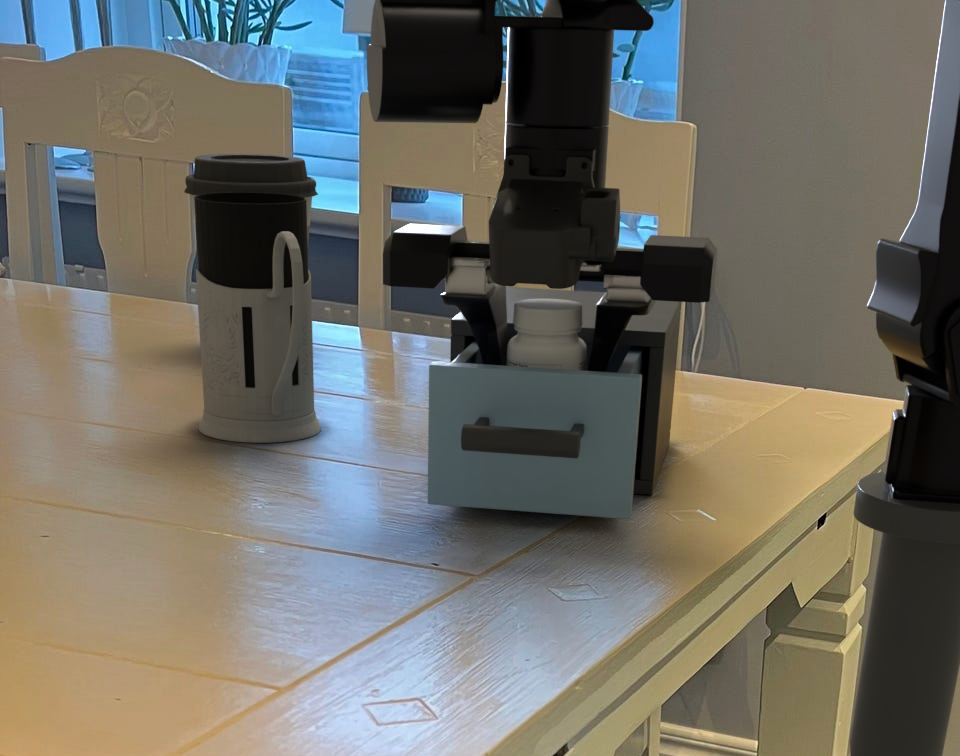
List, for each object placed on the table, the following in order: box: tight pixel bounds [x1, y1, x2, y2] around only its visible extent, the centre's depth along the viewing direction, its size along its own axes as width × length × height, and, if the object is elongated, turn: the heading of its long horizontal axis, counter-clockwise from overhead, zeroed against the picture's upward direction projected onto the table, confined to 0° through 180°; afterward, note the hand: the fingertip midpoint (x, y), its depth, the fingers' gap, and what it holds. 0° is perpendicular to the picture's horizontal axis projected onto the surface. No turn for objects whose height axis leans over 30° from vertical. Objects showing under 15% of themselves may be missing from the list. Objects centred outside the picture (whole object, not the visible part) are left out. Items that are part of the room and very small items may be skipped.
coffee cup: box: [184, 153, 319, 242], centre depth 138 cm, size 11×11×15 cm
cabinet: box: [449, 286, 683, 496], centre depth 106 cm, size 15×13×10 cm
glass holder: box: [194, 192, 322, 444], centre depth 109 cm, size 9×14×15 cm, turn 24°
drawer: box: [427, 338, 646, 520], centre depth 96 cm, size 18×12×8 cm, turn 170°
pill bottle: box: [507, 299, 587, 371], centre depth 95 cm, size 5×5×8 cm
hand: (544, 418), depth 96 cm, fingers closed on pill bottle, 5 cm apart
